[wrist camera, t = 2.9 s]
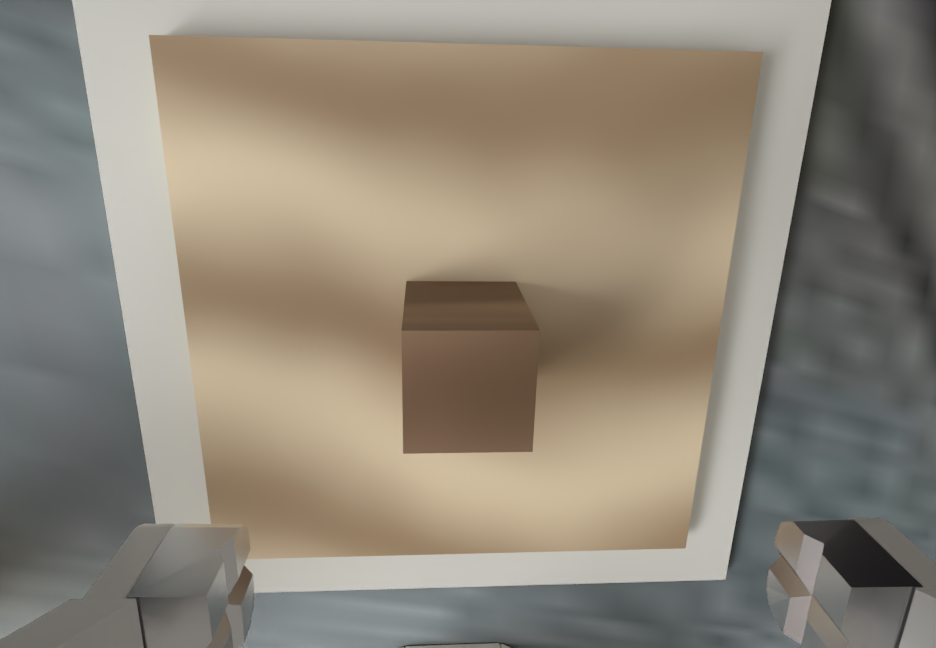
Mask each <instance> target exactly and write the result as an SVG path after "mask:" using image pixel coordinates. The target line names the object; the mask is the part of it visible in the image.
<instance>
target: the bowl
mask: <svg viewBox="0 0 936 648" xmlns="http://www.w3.org/2000/svg"><path fill="white" fill-rule="evenodd" d="M402 648H404V647H402ZM405 648H511V647H508V646H506V645H504V644H500V646H499V643H488V644H458V645H429V646H406V647H405Z"/></svg>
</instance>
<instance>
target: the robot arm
mask: <svg viewBox="0 0 936 648" xmlns="http://www.w3.org/2000/svg"><path fill="white" fill-rule="evenodd" d="M774 545H775V546H776V548H777V550H778V551H779V553H780V554H781V557H780V558H779V559H778V560H777V561H776V562H775V563H774V564H773V565H772V566H771V567H770V568H769V573H768V579H767V586H766V588H767V595H768V602H769V607H770V610H771V612H772V615H773V617H774V620H775V621H776V623H777V624H778V626H779V627H780V629H781V631H782V632H783V633H784V634H786V635H787V636H789V637H790V638H792V639H793V640H795V641H796V642H798V643H799V644H801V648H936V564H935V563H934V562H933V561H932V560H931V559H930V558H929V557H928V556H927V555H925V554H924V553H923V552H922V551H921V550H920V549H919V548H918V547H917V546H915V545H914V544H913V543H912V542H911V541H910V540H909V539H908V538H906V537H905V536H904V535H903V534H902V533H901V532H900V531H899V530H898V529H896V528H895V527H894V526H893V525H892V524H891V523H890V522H888V521H885V520H883V519H880V518H859V519H846V520H815V521H783V522H782V523H781V525H780V526H779V528H778V529H777V533H776V538H775V542H774ZM250 549H251V548H250V540H249V533H248V529H247V528H246V526H245V525H242V524H142V525H139V526H137V527H135V528H134V529H133V531H132V532H131V533H130V535H129V536H128V538H127V539H126V540H125V542H124V543H123V544H122V546H121V547H120V548H119V550H118V551H117V553H116V554H115V555H114V557H113V558H112V559H111V561H110V562H109V564H108V565H107V566H106V568H105V569H104V570H103V572H102V573H101V574H100V576H99V577H98V579H97V580H96V581H95V583H94V584H93V585H92V587H91V588H90V590H89V591H88V592H87V594H86V595H85V596H84V598H83V599H71V600H69V601H67V602H66V603H64V604H62V605H60V606H59V607H57V608H55V609H53V610H52V611H50V612H48V613H46V614H45V615H43V616H41V617H39V618H38V619H36V620H34V621H32V622H30V623H29V624H27V625H25V626H23V627H22V628H20V629H18V630H16V631H15V632H13V633H11V634H9V635H8V636H6V637H4V638H2V639H0V648H238V647H239V646H240V645H242V644H243V643H244V642H245V639H246V636H247V633H248V630H249V627H250V623H251V617H252V611H253V606H254V581H253V574H252V573H251V572H250V571H249V570H248V569H247V568H246V566H245V565H244V564H245V562H246V559H247V557H248V554H249V552H250Z"/></svg>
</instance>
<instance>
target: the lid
mask: <svg viewBox="0 0 936 648" xmlns="http://www.w3.org/2000/svg"><path fill="white" fill-rule="evenodd" d="M149 41H150V49H151V57H152V65H153V73H154V80H155V88H156V96H157V104H158V112H159V120H160V127H161V135H162V143H163V151H164V159H165V167H166V174H167V182H168V190H169V198H170V206H171V214H172V221H173V229H174V237H175V245H176V253H177V261H178V269H179V276H180V284H181V292H182V300H183V308H184V316H185V323H186V331H187V339H188V347H189V355H190V363H191V370H192V378H193V386H194V394H195V402H196V410H197V417H198V425H199V433H200V441H201V449H202V457H203V464H204V472H205V480H206V488H207V496H208V504H209V512H210V519H211V524H242V525H245V526H246V528H247V529H248V533H249V540H250V548H251V549H250V552H249V554H248V557H247V559H273V558H314V557H355V556H396V555H436V554H477V553H518V552H559V551H599V550H640V549H681V548H686V543H687V536H688V530H689V524H690V517H691V511H692V504H693V498H694V492H695V485H696V479H697V472H698V466H699V460H700V453H701V447H702V440H703V434H704V428H705V421H706V415H707V408H708V402H709V396H710V389H711V383H712V376H713V370H714V364H715V357H716V351H717V344H718V338H719V331H720V325H721V319H722V312H723V306H724V299H725V293H726V287H727V280H728V274H729V267H730V261H731V255H732V248H733V242H734V235H735V229H736V223H737V216H738V210H739V203H740V197H741V191H742V184H743V178H744V171H745V165H746V159H747V152H748V146H749V139H750V133H751V127H752V120H753V114H754V107H755V101H756V95H757V88H758V82H759V75H760V69H761V62H762V56H763V52H747V51H711V50H675V49H639V48H603V47H567V46H532V45H496V44H460V43H424V42H388V41H352V40H316V39H280V38H244V37H208V36H172V35H149Z"/></svg>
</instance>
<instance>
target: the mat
mask: <svg viewBox="0 0 936 648" xmlns="http://www.w3.org/2000/svg"><path fill="white" fill-rule="evenodd" d="M831 1H832V0H72V2H73V9H74V15H75V21H76V27H77V34H78V40H79V46H80V52H81V59H82V65H83V71H84V77H85V84H86V90H87V96H88V102H89V109H90V115H91V121H92V127H93V134H94V140H95V146H96V152H97V159H98V165H99V171H100V177H101V183H102V190H103V196H104V202H105V208H106V215H107V221H108V227H109V233H110V240H111V246H112V252H113V258H114V265H115V271H116V277H117V283H118V290H119V296H120V302H121V308H122V315H123V321H124V327H125V333H126V340H127V346H128V352H129V358H130V364H131V371H132V377H133V383H134V389H135V396H136V402H137V408H138V414H139V421H140V427H141V433H142V439H143V446H144V452H145V458H146V464H147V471H148V477H149V483H150V489H151V496H152V502H153V508H154V514H155V521H156V524H211V519H210V512H209V504H208V496H207V488H206V480H205V472H204V464H203V457H202V449H201V441H200V433H199V425H198V417H197V410H196V402H195V394H194V386H193V378H192V370H191V363H190V355H189V347H188V339H187V331H186V323H185V316H184V308H183V300H182V292H181V284H180V276H179V269H178V261H177V253H176V245H175V237H174V229H173V221H172V214H171V206H170V198H169V190H168V182H167V174H166V167H165V159H164V151H163V143H162V135H161V127H160V120H159V112H158V104H157V96H156V88H155V80H154V73H153V65H152V57H151V49H150V41H149V35H172V36H208V37H244V38H280V39H316V40H352V41H388V42H424V43H460V44H496V45H532V46H567V47H603V48H639V49H675V50H711V51H747V52H763V56H762V62H761V69H760V75H759V82H758V88H757V95H756V101H755V107H754V114H753V120H752V127H751V133H750V139H749V146H748V152H747V159H746V165H745V171H744V178H743V184H742V191H741V197H740V203H739V210H738V216H737V223H736V229H735V235H734V242H733V248H732V255H731V261H730V267H729V274H728V280H727V287H726V293H725V299H724V306H723V312H722V319H721V325H720V331H719V338H718V344H717V351H716V357H715V364H714V370H713V376H712V383H711V389H710V396H709V402H708V408H707V415H706V421H705V428H704V434H703V440H702V447H701V453H700V460H699V466H698V472H697V479H696V485H695V492H694V498H693V504H692V511H691V517H690V524H689V530H688V536H687V543H686V548H681V549H640V550H599V551H559V552H518V553H477V554H436V555H396V556H355V557H314V558H273V559H246V562H245V564H244V565H245V566H246V568H247V569H248V570H249V571H250V572H251V573H252V574H253V581H254V593H266V592H302V591H337V590H373V589H409V588H445V587H481V586H516V585H552V584H588V583H624V582H659V581H695V580H725V578H726V573H727V567H728V562H729V557H730V551H731V546H732V540H733V535H734V529H735V524H736V518H737V513H738V507H739V502H740V497H741V491H742V486H743V480H744V475H745V469H746V464H747V458H748V453H749V448H750V442H751V437H752V431H753V426H754V420H755V415H756V409H757V404H758V398H759V393H760V388H761V382H762V377H763V371H764V366H765V360H766V355H767V349H768V344H769V338H770V333H771V328H772V322H773V317H774V311H775V306H776V300H777V295H778V289H779V284H780V279H781V273H782V268H783V262H784V257H785V251H786V246H787V240H788V235H789V229H790V224H791V219H792V213H793V208H794V202H795V197H796V191H797V186H798V180H799V175H800V169H801V164H802V159H803V153H804V148H805V142H806V137H807V131H808V126H809V120H810V115H811V110H812V104H813V99H814V93H815V88H816V82H817V77H818V71H819V66H820V60H821V55H822V50H823V44H824V39H825V33H826V28H827V22H828V17H829V11H830V6H831Z"/></svg>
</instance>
